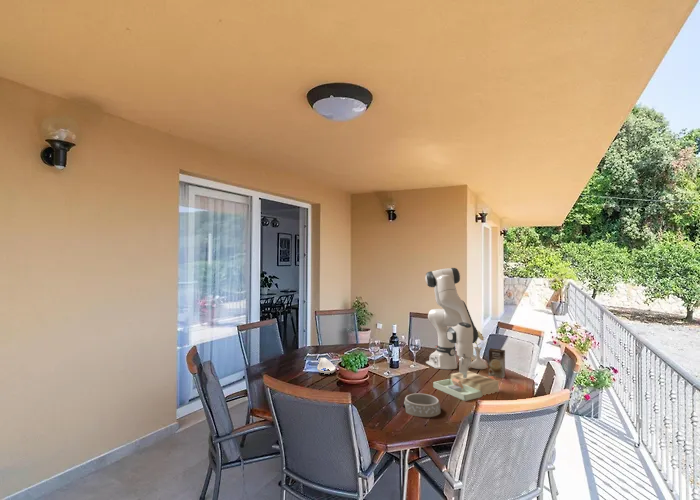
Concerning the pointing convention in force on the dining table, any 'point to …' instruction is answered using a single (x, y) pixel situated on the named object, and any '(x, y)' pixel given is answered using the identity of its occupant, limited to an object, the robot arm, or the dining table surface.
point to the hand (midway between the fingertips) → (465, 377)
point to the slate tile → (455, 388)
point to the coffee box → (496, 363)
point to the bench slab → (478, 382)
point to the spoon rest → (325, 366)
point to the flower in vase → (478, 356)
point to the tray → (464, 395)
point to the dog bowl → (422, 405)
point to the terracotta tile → (457, 382)
